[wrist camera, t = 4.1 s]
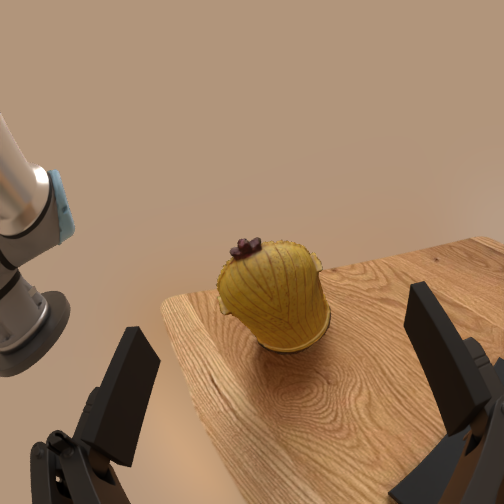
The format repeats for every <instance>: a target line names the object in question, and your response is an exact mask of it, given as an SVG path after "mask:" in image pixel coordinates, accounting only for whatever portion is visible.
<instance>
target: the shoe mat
mask: <svg viewBox="0 0 504 504" xmlns="http://www.w3.org/2000/svg"><path fill="white" fill-rule="evenodd" d="M494 369H495V371H496V373H497V375H498V377H499V379H500V380H501V382H502V384H503V386H504V360H503V359H502V358H500V357H499V358H498V360H497V362H496V364H495V365H494ZM470 430H471V427H470V425H468V426H467V427H466V429H465V430H464V431H461V432H459V433H457V434H455V435H453V436H450V437H448V434H446V435H445V437H444V438H443V439H442V440H441V441H440V442H439V444H438V445H437V446H436V447H435V448H434V449H433V450H432V451H431V452H430V453H429V455H428V456H427V457H426V458H425V459H424V460H423V461H422V462H421V463H420V464H419V465H418V466H417V467H416V468H415V469H414V470H413V471H412V472H411V473H410V474H409V475H408V476H407V477H405V478H404V479H403V480H402V481H401V482H400V483H399V484H398V485H397V486H395V487H394V488H393V489H392V490H391V491H390V492H388V494H389V495H390V496H391V497H392V498H393V499H394V500H395V501H396V502H397V503H398V504H438V502H439V501H440V499H441V497H442V495H443V493H444V491H445V489H446V487H447V485H448V483H449V481H450V479H451V477H452V475H453V473H454V470H455V468H456V466H457V464H458V461H459V459H460V456H461V454H462V451H463V449H464V446H465V444H466V441H467V439H466V440H465V441H463V438H464V436H465V435H466V434H467V433H468V432H469V431H470ZM496 497H497V495H496ZM496 497H495V499H494V502H493V504H495V501H496Z"/></svg>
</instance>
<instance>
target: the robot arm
mask: <svg viewBox="0 0 504 504" xmlns="http://www.w3.org/2000/svg"><path fill="white" fill-rule="evenodd" d="M74 231H75V225H74V221H73V218H72V215H71V212H70V208H69V205H68V202H67V198H66V195H65V191H64V188H63V184H62V181H61V177H60V174H59V172H58V171H57V170H52V171H51V170H50V171H47V173H46V172H45V170H44V169H43V168H42V167H41V166H39V165H37V164H35V163H28V162H27V160H26V159H25V157H24V155H23V154H22V152H21V150H20V148H19V147H18V145H17V143H16V141H15V140H14V138H13V136H12V134H11V132H10V130H9V129H8V127H7V125H6V123H5V121H4V119H3V117H2V115H1V113H0V353H1V354H3V355H8V354H12V353H14V352H17V351H18V350H20V349H22V348H23V347H24V346H26V345H27V344H28V343H29V342H30V341H31V340H33V339H34V338H35V336H36V335H37V334H38V333H39V332H40V331H41V329H42V328H43V326H44V325H45V323H46V321H47V319H48V317H49V314H50V306H49V304H48V302H47V301H46V299H45V298H44V297H43V296H42V295H41V294H40V293H39V292H38V291H37V290H36V288H35V286H33V287H32V286H31V285H30V284H29V283H28V282H27V281H26V280H25V279H24V278H23V277H22V275H21V274H20V272H19V270H18V267H20V266H21V265H23V264H24V263H26V262H28V261H29V260H31V259H33V258H34V257H36V256H38V255H40V254H41V253H43V252H45V251H47V250H49V249H50V248H52V247H54V246H56V245H60V244H61V243H62V242H63V241H65V240H66V239H68V238H69V237H71V236H72V235H73V234H74ZM404 328H405V331H406V333H407V335H408V337H409V339H410V341H411V343H412V345H413V348H414V350H415V352H416V354H417V357H418V359H419V361H420V363H421V366H422V368H423V370H424V373H425V375H426V378H427V380H428V382H429V385H430V387H431V390H432V392H433V395H434V398H435V400H436V403H437V406H438V408H439V411H440V414H441V417H442V419H443V422H444V425H445V428H446V431H447V434H448V437H450V436H453V435H455V434H457V433H459V432H461V431H464V430H465V429H466V427H467V426H468V425H470V427H471V430H470V431H469V432H468V433H467V434H466V435H465V436H464V438H463V441H465V440H466V439H467V441H466V444H465V446H464V449H463V451H462V454H461V456H460V459H459V461H458V464H457V466H456V468H455V470H454V473H453V475H452V477H451V479H450V481H449V483H448V485H447V487H446V489H445V491H444V493H443V495H442V497H441V499H440V501H439V502H438V504H493V502H494V499H495V497H496V495H497V497H496V501H495V504H504V386H503V384H502V382H501V380H500V379H499V377H498V375H497V373H496V371H495V369H494V367H493V365H492V364H491V363H490V360H489V358H488V356H487V355H486V353H485V351H484V350H483V348H482V346H481V344H480V343H478V342H477V341H476V340H475V339H474V338H472V337H470V338H467V339H465V340H462V338H461V337H460V335H459V333H458V332H457V330H456V328H455V327H454V325H453V323H452V322H451V320H450V319H449V317H448V316H447V314H446V312H445V311H444V309H443V308H442V306H441V305H440V303H439V302H438V300H437V299H436V297H435V296H434V294H433V293H432V291H431V290H430V288H429V287H428V286H427V284H426V283H425V281H423V282H419V283H414V284H411V285H410V292H409V298H408V304H407V310H406V316H405V321H404ZM160 361H161V360H160V359H159V357H158V356H157V354H156V353H155V351H154V350H153V348H152V347H151V345H150V344H149V342H148V341H147V339H146V337H145V336H144V334H143V333H142V331H141V329H140V328H139V326H136V327H127V328H126V330H125V332H124V334H123V336H122V338H121V340H120V342H119V345H118V347H117V349H116V351H115V353H114V356H113V358H112V360H111V363H110V365H109V367H108V369H107V372H106V374H105V376H104V379H103V381H102V383H101V386H100V387H95V389H94V390H93V391H92V392H91V393H90V395H89V397H88V400H87V402H86V406H85V407H84V409H83V413H82V414H81V417H80V419H79V422H78V425H77V427H76V430H75V433H74V435H73V437H72V438H70V437H69V436H68V435H66V434H65V433H63V432H62V431H60V430H56V431H53V432H52V433H51V434H50V435H49V437H48V438H47V441H46V444H45V443H43V442H37V443H35V444H34V445H33V447H32V449H31V454H30V463H31V464H30V472H31V493H32V504H131V503H130V502H129V500H128V498H127V496H126V494H125V492H124V490H123V488H122V486H121V484H120V482H119V480H118V478H117V476H116V474H115V472H114V469H113V467H112V466H111V465H110V464H109V463H110V460H111V461H113V462H115V463H116V464H118V465H122V466H127V467H131V466H132V462H133V458H134V454H135V450H136V446H137V442H138V438H139V434H140V431H141V427H142V423H143V420H144V416H145V412H146V409H147V405H148V402H149V398H150V395H151V391H152V388H153V385H154V381H155V378H156V375H157V372H158V368H159V365H160ZM56 476H57V477H59V478H60V481H59V482H57V481H56Z"/></svg>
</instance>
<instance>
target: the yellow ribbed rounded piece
mask: <svg viewBox="0 0 504 504" xmlns="http://www.w3.org/2000/svg"><path fill="white" fill-rule="evenodd" d="M230 254H231V255H232V256H233V257H232V258H231V260H228V261H227V262H226V265H223V267H224V268H223V269H222V270H221V274H220V275H219V278H218V279H217V282H218V283H217V285H216V286H217V287H218V288H217V290H218V291H219V294H220V296H219V297H217V299H218V300H219V305H220V311H221V313H222V314H224V315H229V314H232V316H235V317H237V318H238V319H239V320H240V321H241V322H242V323H243V324H244V325H245V326H247V328H249V329H250V330H251V332H252V333H253V334H254V335H255V337H257V340H258V343H259V344H260V345H261V346H262V347H263V348H265V349H267V350H269V351H273V352H275V353H277V354H294V353H298V352H300V351H303V350H305V349H307V348H309V347H310V346H311V345H312V344H313V343H315V342H316V341H318V340H320V339H321V338H322V336H323V335H324V334H325V333H326V331H327V329H328V328H329V325H330V320H331V311H330V307H329V305H328V303H327V300H326V297H325V295H324V294H323V290H322V287H321V283H320V280H319V272H321V271H322V270H323V267H322V266H321V261H320V260H319V259H318V258H317V257H316V254H315V253H311V254H310V253H309V251H307V249H306V248H305V247H304V246H302V245H300V244H296V243H295V242H289V241H282V240H281V241H277V242H276V243H274V242H273V241H270V242H263V243H262V244H261V239H260V238H258V237H257V238H254V239H253V240H251V241H250V242H249V241H247V240H246V239H240V240H239V241H238V247H233V248H231V250H230Z"/></svg>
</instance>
